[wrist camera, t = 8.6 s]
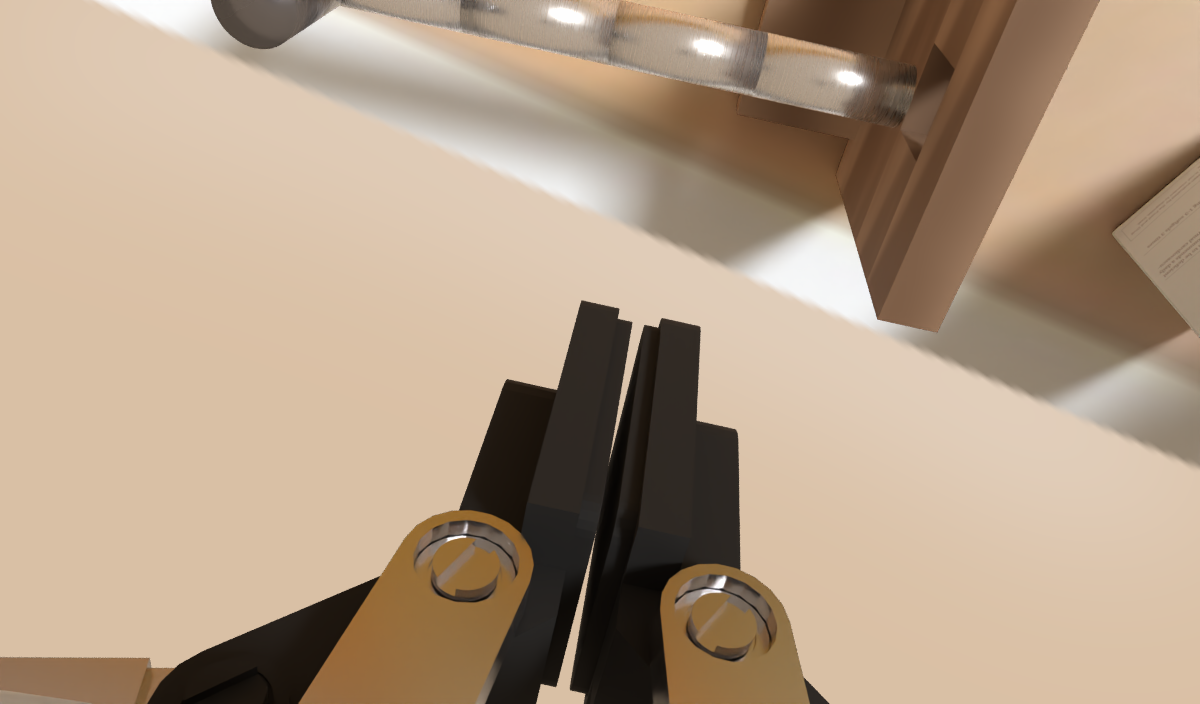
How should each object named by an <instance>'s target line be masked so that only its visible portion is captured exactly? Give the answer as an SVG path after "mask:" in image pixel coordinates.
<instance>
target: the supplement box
mask: <svg viewBox="0 0 1200 704" xmlns="http://www.w3.org/2000/svg"><path fill="white" fill-rule="evenodd" d="M1112 235H1113V236H1114V238H1115V239H1116V240H1117V241H1118V243H1119V244H1120V245H1121V246H1122V247H1123V248H1124V250H1125V251H1126V252H1127V253H1128V254H1129V255H1130V257H1131V258H1132V259H1133V260H1134V261H1135V262H1136V264H1137V265H1138V266H1139V267H1140V268H1141V269H1142V271H1143V272H1144V273H1145V274H1146V275H1147V277H1148V278H1149V279H1150V280H1151V281H1152V282H1153V284H1154V285H1155V286H1156V287H1157V288H1158V290H1159V291H1160V292H1161V293H1162V294H1163V295H1164V297H1165V298H1166V299H1167V300H1168V301H1169V303H1170V304H1171V305H1172V306H1173V307H1174V309H1175V310H1176V311H1177V312H1178V313H1179V314H1180V316H1181V317H1182V318H1183V319H1184V320H1185V321H1186V323H1187V324H1188V325H1189V326H1190V327H1191V328H1192V330H1193V331H1194V332H1195V333H1196V334H1197V336H1198V337H1199V338H1200V158H1199V159H1198V160H1196V161H1195V162H1194V163H1193V164H1192V165H1191V166H1189V167H1188V168H1187V169H1186V170H1185V171H1184V172H1182V173H1181V174H1180V175H1179V176H1178V177H1177V178H1175V179H1174V180H1173V181H1172V182H1171V183H1170V184H1168V185H1167V186H1166V187H1165V188H1164V189H1163V190H1161V191H1160V192H1159V193H1158V194H1157V195H1156V196H1154V197H1153V198H1152V199H1151V200H1150V201H1149V202H1147V203H1146V204H1145V205H1144V206H1143V207H1142V208H1140V209H1139V210H1138V211H1137V212H1136V213H1134V214H1133V215H1132V216H1131V217H1130V218H1129V219H1127V220H1126V221H1125V222H1124V223H1123V224H1121V225H1120V226H1119V227H1118V228H1117V229H1116V230H1115V231H1113V233H1112Z"/></svg>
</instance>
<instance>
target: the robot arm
mask: <svg viewBox="0 0 1200 704" xmlns="http://www.w3.org/2000/svg"><path fill="white" fill-rule="evenodd" d="M618 314H619V308H614V307H609V306H605V305H600V304H596V303H591V302H586V301H581V304H580V307H579V311H578V315H577V318H576V322H575V326H574V330H573V333H572V337H571V341H570V344H569V348H568V352H567V356H566V360H565V363H564V367H563V371H562V374H561V378H560V382H559V385H558V389H557V390H554V389H549V388H545V387H540V386H535V385H531V384H526V383H522V382H518V381H513V380H509V379H507V380H506V381H505V383H504V386H503V388H502V391H501V394H500V397H499V400H498V403H497V405H496V408H495V411H494V414H493V417H492V419H491V422H490V425H489V428H488V430H487V433H486V436H485V439H484V442H483V444H482V447H481V450H480V453H479V456H478V458H477V461H476V464H475V467H474V470H473V472H472V475H471V478H470V481H469V484H468V487H467V489H466V492H465V495H464V498H463V501H462V503H461V506H460V509H459V511H449V512H446V513H442V514H438V515H434V516H432V517H430V518H428V519H426V520H425V521H423V522H421V523H420V524H418V525H416V526H415V528H414V529H413V530H412V531H411V532H410V533H409V534H408V535H407V536H406V537H405V539H404V540H403V542H402V543H401V545H400V546H399V548H398V550H397V551H396V553H395V554H394V556H393V557H392V559H391V561H390V562H389V563H388V565H387V567H386V568H385V570H384V571H383V573H382V574H381V576H379V577H377V578H374V579H372V580H370V581H367V582H365V583H363V584H360V585H358V586H356V587H353V588H351V589H349V590H346V591H344V592H341V593H339V594H337V595H334V596H332V597H330V598H327V599H325V600H322V601H320V602H318V603H315V604H313V605H311V606H308V607H306V608H304V609H301V610H299V611H297V612H294V613H292V614H289V615H287V616H285V617H283V618H280V619H278V620H275V621H273V622H271V623H268V624H266V625H263V626H261V627H259V628H256V629H254V630H252V631H249V632H247V633H245V634H242V635H240V636H238V637H235V638H233V639H230V640H228V641H226V642H223V643H221V644H219V645H216V646H214V647H212V648H209V649H207V650H204V651H202V652H200V653H199V654H197V655H195V656H193V657H191V658H190V659H188V660H186V661H184V662H183V663H181V664H179V665H178V666H177V667H176V668H151V662H150V658H42V657H36V658H34V657H31V658H30V657H0V704H536V702H537V698H538V693H539V689H540V685H541V684H544V685H549V686H553V687H556V686H557V682H558V678H559V675H560V671H561V667H562V663H563V659H564V655H565V651H566V647H567V643H568V639H569V635H570V632H571V627H572V624H573V620H574V616H575V612H576V608H577V604H578V600H579V597H580V593H581V589H582V584H583V581H584V577H585V573H586V569H587V565H588V562H589V558H590V554H591V550H592V546H593V542H594V538H595V542H594V548H593V554H592V559H591V566H590V571H589V578H588V583H587V589H586V595H585V601H584V607H583V613H582V619H581V624H580V630H579V636H578V642H577V649H576V654H575V660H574V666H573V672H572V678H571V684H570V690H572V691H577V692H581V693H585V700H584V704H829V703H828V702H827V701H826V700H825V699H824V698H823V697H822V696H821V695H820V694H819V693H818V691H817V690H816V689H815V688H814V687H813V686H811V684H810V683H809V682H808V681H807V680H806V679H805V678H804V677H803V674H802V670H801V666H800V662H799V658H798V653H797V649H796V645H795V641H794V637H793V633H792V629H791V624H790V621H789V619H788V616H787V614H786V612H785V609H784V607H783V605H782V603H781V602H780V601H779V600H778V599H777V597H776V596H775V595H774V594H773V592H772V591H771V590H770V589H769V588H768V587H767V586H765V585H764V584H763V583H761V582H760V581H759V580H758V579H756V578H755V577H753V576H751V575H749V574H747V573H745V572H743V571H741V570H740V519H739V518H740V517H739V458H738V456H739V455H738V433H737V431H736V430H735V429H731V428H727V427H723V426H718V425H713V424H709V423H704V422H700V421H696V417H697V396H698V374H699V353H700V332H701V331H700V327H699V326H696V325H691V324H686V323H682V322H678V321H673V320H668V319H663V318H662V319H661V321H660V324H659V327H658V328H657V327H652V326H647V325H644V328H643V332H642V335H641V339H640V343H639V347H638V351H637V355H636V359H635V363H634V367H633V371H632V375H631V379H630V383H629V387H628V391H627V395H626V399H625V402H624V407H623V410H622V414H621V418H620V422H619V426H618V430H617V434H616V438H615V442H614V446H613V450H612V454H611V458H610V453H611V447H612V441H613V435H614V430H615V424H616V417H617V411H618V406H619V400H620V394H621V387H622V382H623V376H624V370H625V364H626V358H627V352H628V346H629V339H630V334H631V328H632V322H629V321H625V320H620V319H618ZM609 459H610V462H609ZM608 465H609V466H608ZM595 534H596V536H595Z"/></svg>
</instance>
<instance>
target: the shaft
mask: <svg viewBox="0 0 1200 704" xmlns="http://www.w3.org/2000/svg"><path fill="white" fill-rule="evenodd" d="M211 3H212V7H213V10H214V12H215V14H216V17H217V19H218V20H219V22H220V23H221V25H222V26H223V27H224V29H225V30H226V31H227V32H228V33H229V34H230V35H231V36H232V37H234V38H235V39H236V40H238V41H239V42H241V43H243V44H245V45H247V46H250V47H253V48H258V49H270V48H274V47H277V46H279V45H281V44H282V43H284V42H285V41H287V40H288V39H290V38H292V37H293V36H295V35H296V34H298V33H299V32H301V31H302V30H304V29H305V28H307V27H308V26H310V25H311V24H313V23H314V22H316V21H317V20H319V19H320V18H322V17H323V16H325V15H326V14H328V13H329V12H331V11H332V10H334V9H335V8H337V7H338V6H343V7H348V8H352V9H357V10H361V11H366V12H370V13H375V14H379V15H384V16H389V17H393V18H398V19H402V20H407V21H411V22H416V23H420V24H425V25H429V26H434V27H438V28H443V29H447V30H452V31H457V32H461V33H466V34H470V35H475V36H479V37H484V38H488V39H493V40H497V41H502V42H506V43H511V44H516V45H520V46H525V47H529V48H534V49H538V50H543V51H547V52H552V53H556V54H561V55H565V56H570V57H575V58H579V59H584V60H588V61H593V62H597V63H602V64H606V65H611V66H615V67H620V68H624V69H629V70H634V71H638V72H643V73H647V74H652V75H656V76H661V77H665V78H670V79H674V80H679V81H683V82H688V83H692V84H697V85H702V86H706V87H711V88H715V89H720V90H724V91H729V92H733V93H738V94H742V95H747V96H751V97H756V98H761V99H765V100H770V101H774V102H779V103H783V104H788V105H792V106H797V107H801V108H806V109H810V110H815V111H820V112H824V113H829V114H833V115H838V116H842V117H847V118H851V119H856V120H860V121H865V122H869V123H874V124H878V125H883V126H888V127H892V128H896V127H898V126H899V125H900V124H901V122H902V121H903V119H904V117H905V115H906V113H907V111H908V109H909V106H910V104H911V101H912V98H913V94H914V91H915V86H916V80H917V69H916V66H915V65H911V64H907V63H902V62H898V61H893V60H889V59H884V58H880V57H875V56H871V55H866V54H862V53H857V52H853V51H848V50H844V49H839V48H835V47H830V46H826V45H821V44H817V43H812V42H808V41H803V40H798V39H794V38H789V37H785V36H780V35H776V34H771V33H767V32H762V31H758V30H753V29H749V28H744V27H740V26H735V25H731V24H726V23H722V22H717V21H713V20H708V19H704V18H699V17H695V16H690V15H686V14H681V13H677V12H672V11H668V10H663V9H659V8H654V7H650V6H645V5H641V4H636V3H632V2H627V1H623V0H211Z"/></svg>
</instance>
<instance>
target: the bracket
mask: <svg viewBox="0 0 1200 704" xmlns="http://www.w3.org/2000/svg"><path fill="white" fill-rule="evenodd" d="M1099 1H1100V0H766V3H765V6H764V10H763V13H762V17H761V21H760V24H759V28H758V31H762V32H767V33H771V34H776V35H780V36H785V37H789V38H794V39H798V40H803V41H808V42H812V43H817V44H821V45H826V46H830V47H835V48H839V49H844V50H848V51H853V52H857V53H862V54H866V55H871V56H875V57H880V58H884V59H889V60H893V61H898V62H902V63H907V64H911V65H915V66H916V69H917V80H916V86H915V91H914V94H913V98H912V101H911V104H910V106H909V109H908V111H907V113H906V115H905V117H904V119H903V121H902V122H901V124H900V125H899V126H898V127H896V128H892V127H888V126H883V125H878V124H874V123H869V122H865V121H860V120H856V119H851V118H847V117H842V116H838V115H833V114H829V113H824V112H820V111H815V110H810V109H806V108H801V107H797V106H792V105H788V104H783V103H779V102H774V101H770V100H765V99H761V98H756V97H751V96H747V95H742V94H740V95H739V99H738V103H737V106H736V107H737V114H738V115H743V116H747V117H752V118H756V119H761V120H765V121H770V122H774V123H779V124H783V125H788V126H793V127H797V128H802V129H806V130H811V131H815V132H820V133H824V134H829V135H833V136H838V137H843V138H847V139H848V142H847V145H846V148H845V150H844V153H843V156H842V159H841V161H840V164H839V167H838V170H837V172H836V178H837V181H838V185H839V188H840V192H841V195H842V199H843V202H844V206H845V209H846V213H847V216H848V219H849V223H850V226H851V230H852V233H853V237H854V240H855V244H856V247H857V251H858V254H859V258H860V261H861V264H862V268H863V271H864V275H865V278H866V282H867V285H868V289H869V292H870V296H871V299H872V303H873V306H874V309H875V313H876V316H877V320H882V321H886V322H891V323H896V324H900V325H905V326H910V327H914V328H919V329H923V330H928V331H933V332H938V330H939V328H940V326H941V324H942V322H943V320H944V318H945V316H946V314H947V312H948V309H949V307H950V305H951V303H952V301H953V299H954V297H955V295H956V293H957V291H958V289H959V287H960V285H961V283H962V281H963V279H964V277H965V275H966V273H967V271H968V269H969V267H970V265H971V262H972V260H973V258H974V256H975V254H976V252H977V250H978V248H979V246H980V244H981V242H982V240H983V238H984V236H985V234H986V232H987V230H988V228H989V226H990V224H991V222H992V220H993V218H994V215H995V213H996V211H997V209H998V207H999V205H1000V203H1001V201H1002V199H1003V197H1004V195H1005V193H1006V191H1007V189H1008V187H1009V185H1010V183H1011V181H1012V179H1013V177H1014V175H1015V173H1016V171H1017V168H1018V166H1019V164H1020V162H1021V160H1022V158H1023V156H1024V154H1025V152H1026V150H1027V148H1028V146H1029V144H1030V142H1031V140H1032V138H1033V136H1034V134H1035V132H1036V130H1037V128H1038V126H1039V124H1040V121H1041V119H1042V117H1043V115H1044V113H1045V111H1046V109H1047V107H1048V105H1049V103H1050V101H1051V99H1052V97H1053V95H1054V93H1055V91H1056V89H1057V87H1058V85H1059V83H1060V81H1061V79H1062V77H1063V74H1064V72H1065V70H1066V68H1067V66H1068V64H1069V62H1070V60H1071V58H1072V56H1073V54H1074V52H1075V50H1076V48H1077V46H1078V44H1079V42H1080V40H1081V38H1082V36H1083V34H1084V32H1085V30H1086V27H1087V25H1088V23H1089V21H1090V19H1091V17H1092V15H1093V13H1094V11H1095V9H1096V7H1097V5H1098V3H1099Z"/></svg>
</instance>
